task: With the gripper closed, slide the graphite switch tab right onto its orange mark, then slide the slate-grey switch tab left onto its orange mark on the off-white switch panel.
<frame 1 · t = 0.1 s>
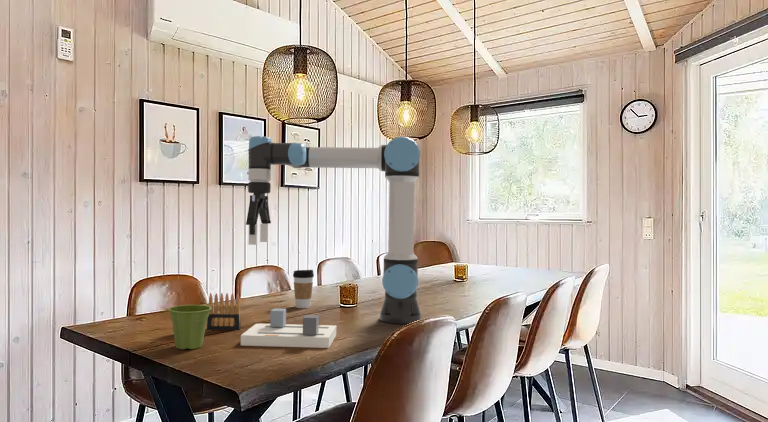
hand: (258, 243, 188), 28 cm above the table, tool pointing down, fingers open, 13 cm apart
tab front: (310, 324, 162), point 6 cm above the table, slide at 0.0 cm
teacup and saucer: (221, 318, 201), on the table
plant pot: (189, 347, 157), on the table
coffee cup: (303, 307, 221), on the table
ammunition clip: (223, 329, 180), on the table
switch panel: (290, 339, 167), on the table
tab back: (278, 317, 172), point 6 cm above the table, slide at 12.0 cm
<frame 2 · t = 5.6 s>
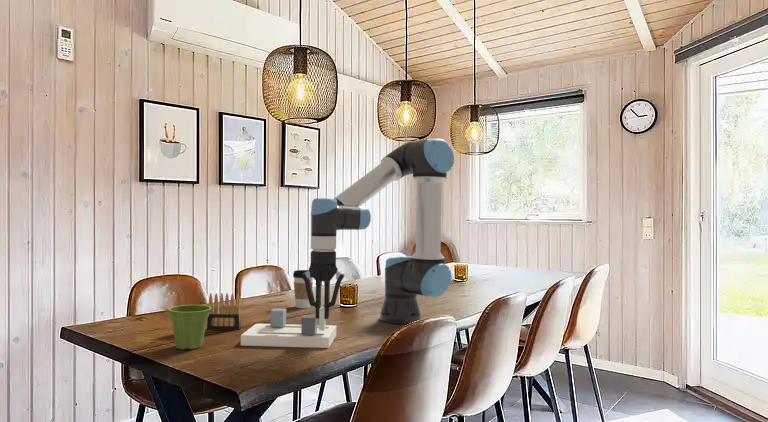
hand: (322, 329, 162), 5 cm above the table, tool pointing down, fingers closed
tab front: (309, 324, 162), point 6 cm above the table, slide at 0.4 cm, touching gripper
everything else where it was.
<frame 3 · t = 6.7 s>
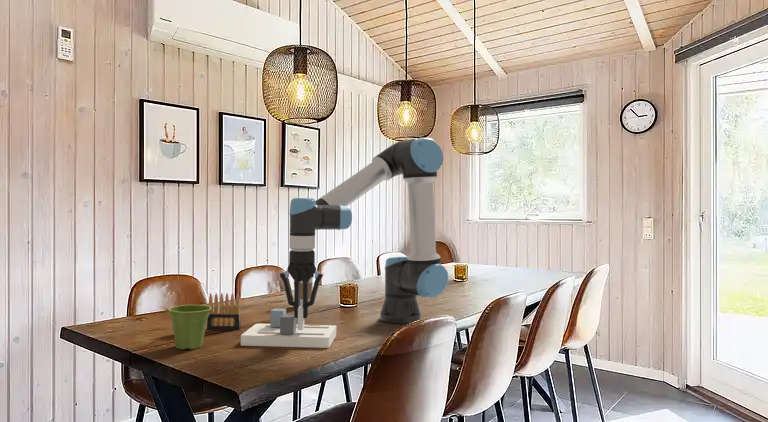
hand: (301, 328, 162), 5 cm above the table, tool pointing down, fingers closed
tab front: (288, 324, 163), point 6 cm above the table, slide at 6.8 cm, touching gripper
everything else where it was.
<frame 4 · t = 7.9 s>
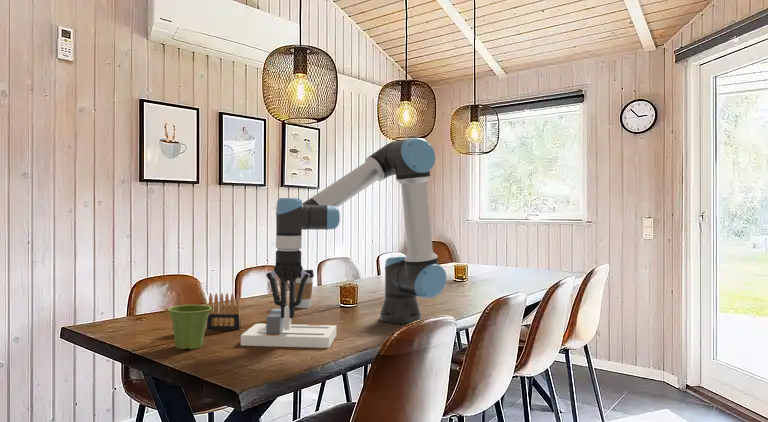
hand: (287, 328, 162), 4 cm above the table, tool pointing down, fingers closed
tab front: (274, 323, 163), point 6 cm above the table, slide at 10.9 cm, touching gripper
everything else where it was.
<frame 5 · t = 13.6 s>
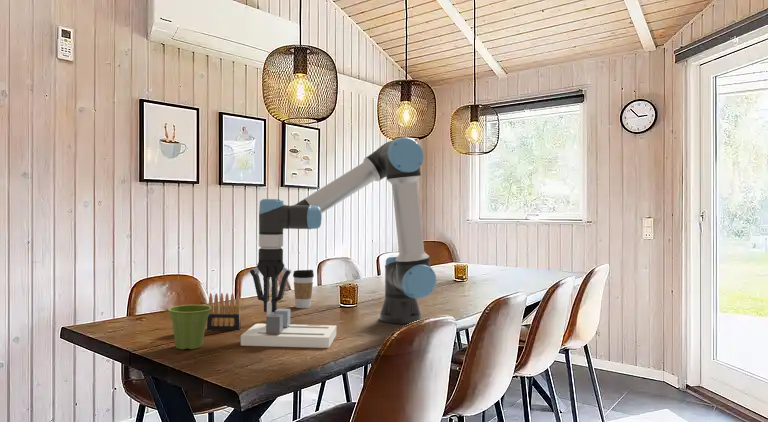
hand: (270, 322, 172), 4 cm above the table, tool pointing down, fingers closed
tab front: (274, 323, 163), point 6 cm above the table, slide at 10.9 cm
tab back: (282, 317, 172), point 6 cm above the table, slide at 10.6 cm, touching gripper
everything else where it was.
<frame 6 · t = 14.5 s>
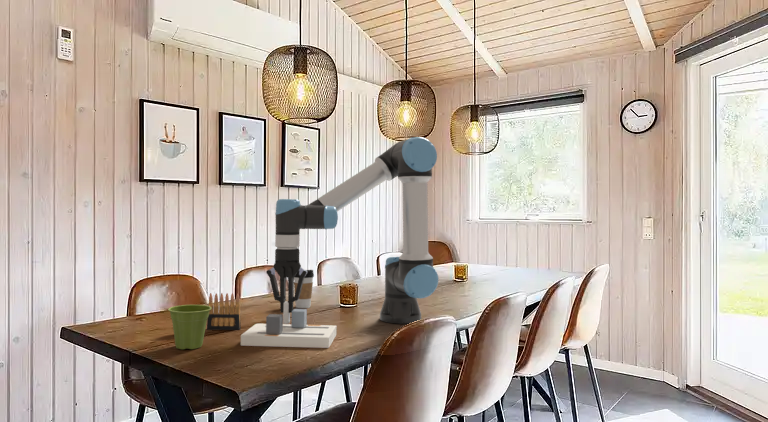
hand: (286, 322, 172), 4 cm above the table, tool pointing down, fingers closed
tab back: (299, 318, 171), point 6 cm above the table, slide at 5.3 cm, touching gripper
everything else where it was.
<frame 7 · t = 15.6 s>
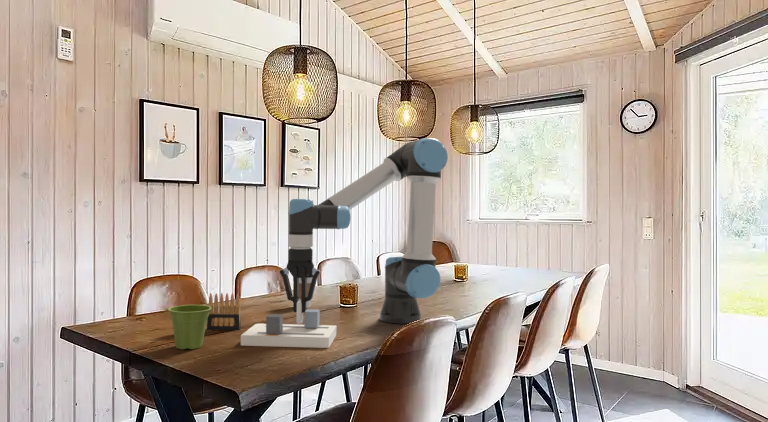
hand: (299, 322, 172), 4 cm above the table, tool pointing down, fingers closed
tab back: (312, 318, 171), point 6 cm above the table, slide at 1.2 cm, touching gripper
everything else where it was.
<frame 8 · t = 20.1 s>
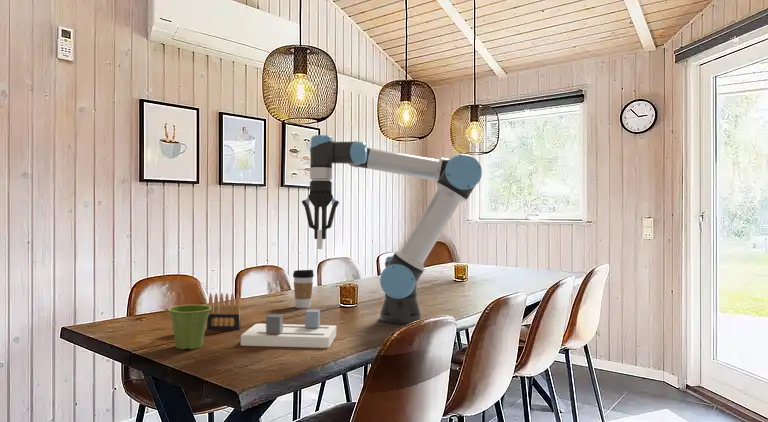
hand: (320, 248, 189), 26 cm above the table, tool pointing down, fingers closed
tab back: (312, 318, 171), point 6 cm above the table, slide at 1.1 cm
everything else where it was.
at the end: tab front slide at 10.9 cm; tab back slide at 1.1 cm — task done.
